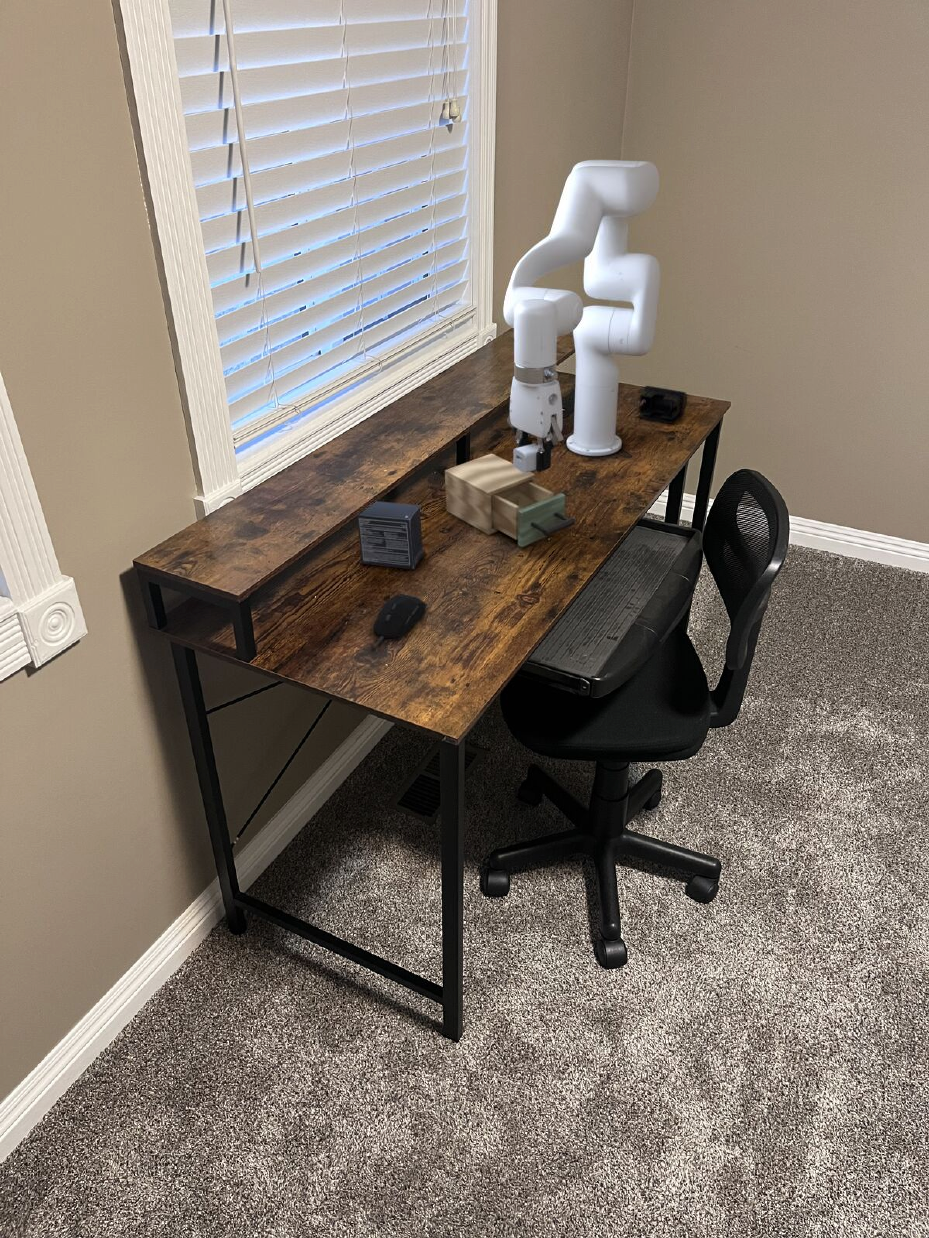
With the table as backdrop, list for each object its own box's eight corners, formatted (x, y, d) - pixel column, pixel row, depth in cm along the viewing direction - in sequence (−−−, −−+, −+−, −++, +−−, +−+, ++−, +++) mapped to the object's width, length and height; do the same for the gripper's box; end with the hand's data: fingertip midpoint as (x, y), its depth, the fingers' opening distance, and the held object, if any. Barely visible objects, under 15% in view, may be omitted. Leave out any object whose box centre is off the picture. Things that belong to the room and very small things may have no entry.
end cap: (685, 415, 227) (688, 388, 223) (674, 425, 222) (677, 398, 219) (648, 408, 232) (650, 382, 228) (636, 417, 227) (638, 391, 223)
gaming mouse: (357, 645, 151) (354, 624, 149) (400, 599, 162) (398, 580, 160) (390, 653, 149) (389, 633, 146) (432, 606, 160) (430, 587, 157)
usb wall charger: (513, 467, 176) (513, 447, 174) (543, 458, 179) (543, 439, 177) (525, 474, 174) (525, 454, 171) (555, 465, 176) (555, 446, 174)
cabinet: (535, 515, 186) (535, 474, 181) (488, 535, 180) (487, 492, 175) (492, 493, 195) (491, 453, 190) (446, 511, 189) (444, 470, 184)
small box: (425, 553, 175) (421, 503, 169) (414, 570, 170) (410, 520, 164) (372, 547, 178) (367, 498, 172) (360, 564, 172) (354, 514, 167)
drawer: (582, 538, 176) (583, 503, 172) (539, 557, 171) (539, 522, 167) (521, 507, 188) (521, 474, 184) (480, 523, 182) (479, 490, 178)
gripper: (583, 378, 163) (579, 473, 173) (519, 356, 174) (518, 447, 184) (552, 388, 159) (550, 485, 169) (488, 366, 170) (490, 458, 180)
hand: (534, 464), depth 176 cm, fingers closed on usb wall charger, 4 cm apart
